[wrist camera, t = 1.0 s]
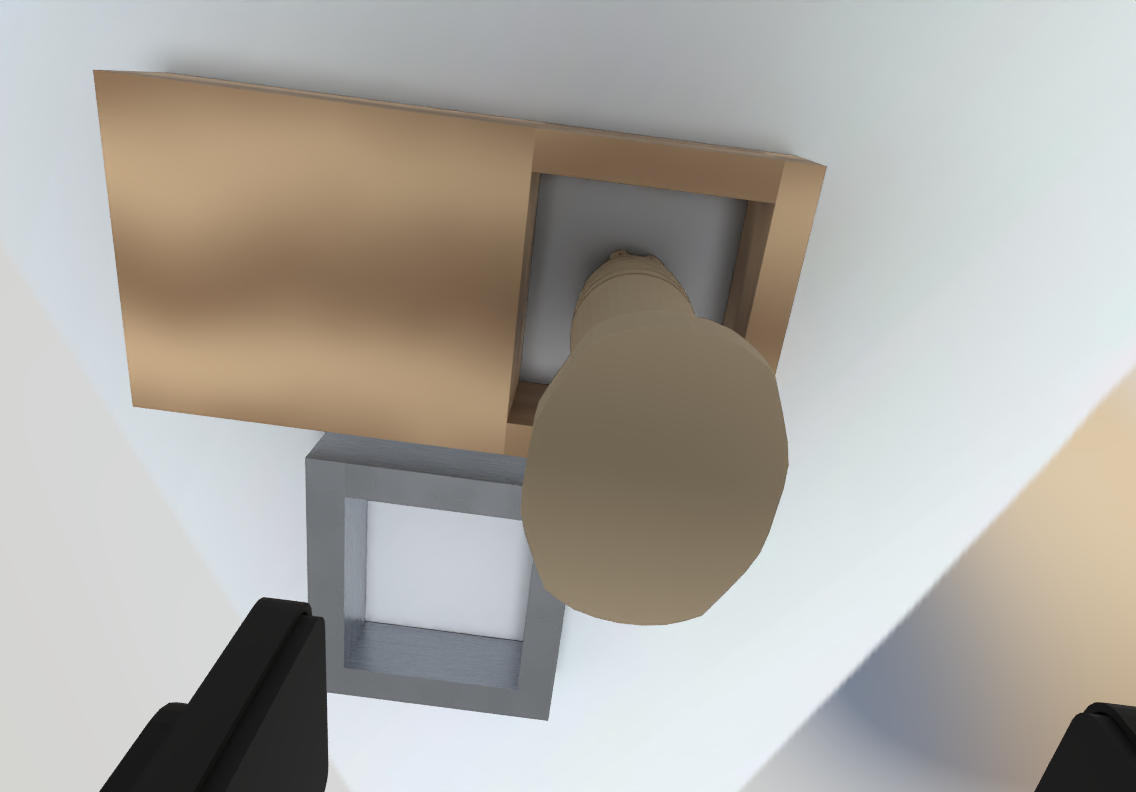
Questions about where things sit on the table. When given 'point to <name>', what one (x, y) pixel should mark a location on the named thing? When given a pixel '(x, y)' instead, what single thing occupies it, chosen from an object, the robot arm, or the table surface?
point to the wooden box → (378, 251)
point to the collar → (404, 654)
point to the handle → (651, 454)
